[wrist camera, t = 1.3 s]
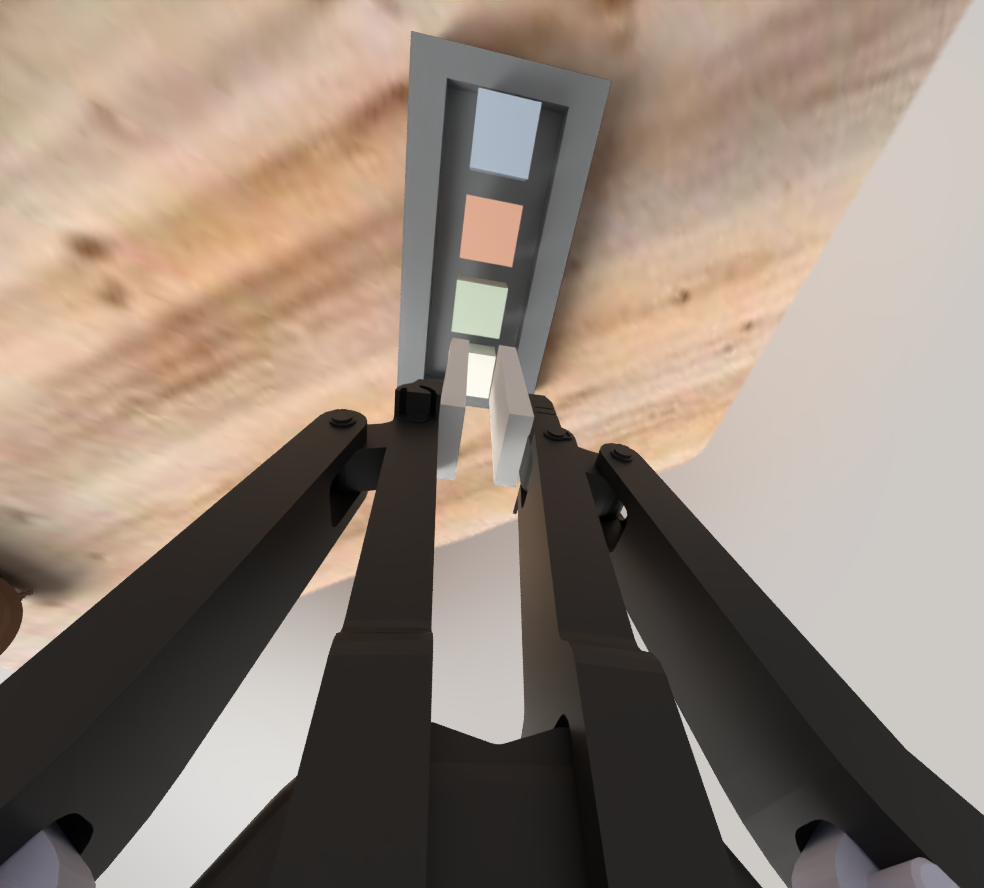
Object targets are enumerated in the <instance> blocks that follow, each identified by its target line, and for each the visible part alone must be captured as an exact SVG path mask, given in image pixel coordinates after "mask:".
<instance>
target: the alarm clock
mask: <svg viewBox="0 0 984 888" xmlns="http://www.w3.org/2000/svg"><path fill="white" fill-rule="evenodd" d="M33 592H34V591H33V590H28V591H27V592H25V593H20V594H18V593H17V592H16V590H15V589H14V588H13V587H12V586H11V585H10V584H9V583H8V582H7V581H5V580H4V579H2V578H0V655H1V654H2V653H3V652H4V651H5V650H6V649H7V647H8V646H9V645H10V644H11V642H12V641H13V640H14V638H15V636H16V634H17V633H18V630H19V628H20V625H21V622H22V616H23V608H22V603H21V601H22V598H21V597H24V596H26V595H31V594H33Z"/></svg>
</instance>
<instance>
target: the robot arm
mask: <svg viewBox="0 0 984 888" xmlns="http://www.w3.org/2000/svg"><path fill="white" fill-rule="evenodd" d="M468 357H469V340H464V339H458V338H452V342H451V348H450V353H449V358H448V363H447V368H446V374H445V379H444V382H438V381H431V380H424V379H418V380H416V381H415V382H413V383H408V384H403V385H401V386H398V387H397V388H396V390H395V411H394V419H393V421H391V422H387V423H382V424H368V425H367V419H366V417H365V416H364V415H362V414H361V413H359V412H356V411H352V410H347V409H341V410H340V409H337V410H333V411H329V412H325V413H324V414H322V415H320V416H319V417H318V418H316V419H315V420H314V421H313V422H312V423H310V424H309V425H308V426H307V427H306V428H304V429H303V430H302V431H301V432H300V433H299V434H297V435H296V436H295V437H294V438H293V439H291V440H290V441H289V442H288V443H287V444H285V445H284V446H283V447H282V448H281V449H280V450H278V451H277V452H276V453H275V454H274V455H272V456H271V457H270V458H269V459H268V460H266V461H265V462H264V463H263V464H262V465H261V466H259V467H258V468H257V469H256V470H255V471H253V472H252V473H251V474H250V475H249V476H247V477H246V478H245V479H244V480H243V481H241V482H240V483H239V484H238V485H237V486H236V487H234V488H233V489H232V490H231V491H230V492H228V493H227V494H226V495H225V496H224V497H222V498H221V499H220V500H219V501H218V502H217V503H215V504H214V505H213V506H212V507H211V508H209V509H208V510H207V511H206V512H205V513H203V514H202V515H201V516H200V517H199V518H198V519H196V520H195V521H194V522H193V523H192V524H190V525H189V526H188V527H187V528H186V529H184V530H183V531H182V532H181V533H180V534H179V535H177V536H176V537H175V538H174V539H173V540H171V541H170V542H169V543H168V544H167V545H165V546H164V547H163V548H162V549H161V550H159V551H158V552H157V553H156V554H155V555H154V556H152V557H151V558H150V559H149V560H148V561H146V562H145V563H144V564H143V565H142V566H140V567H139V568H138V569H137V570H136V571H135V572H133V573H132V574H131V575H130V576H129V577H127V578H126V579H125V580H124V581H123V582H121V583H120V584H119V585H118V586H117V587H116V588H114V589H113V590H112V591H111V592H110V593H108V594H107V595H106V596H105V597H104V598H102V599H101V600H100V601H99V602H98V603H97V604H95V605H94V606H93V607H92V608H91V609H89V610H88V611H87V612H86V613H85V614H83V615H82V616H81V617H80V618H79V619H77V620H76V621H75V622H74V623H73V624H72V625H70V626H69V627H68V628H67V629H66V630H64V631H63V632H62V633H61V634H60V635H58V636H57V637H56V638H55V639H54V640H53V641H51V642H50V643H49V644H48V645H47V646H45V647H44V648H43V649H42V650H41V651H39V652H38V653H37V654H36V655H35V656H34V657H32V658H31V659H30V660H29V661H28V662H26V663H25V664H24V665H23V666H22V667H20V668H19V669H18V670H17V671H16V672H15V673H13V674H12V675H11V676H10V677H9V678H7V679H6V680H5V681H4V682H3V683H2V684H0V888H95V886H96V884H95V881H96V880H97V878H98V877H99V876H100V875H101V874H102V873H103V872H104V871H105V870H106V869H107V868H108V867H109V865H110V864H111V863H112V862H113V861H114V859H115V858H116V857H117V856H118V854H119V853H120V852H121V851H122V850H123V848H124V847H125V846H126V845H127V844H128V842H129V841H130V840H131V839H132V838H133V836H134V835H135V834H136V833H137V831H138V830H139V829H140V828H141V827H142V825H143V824H144V823H145V822H146V821H147V819H148V818H149V817H150V815H151V814H152V812H153V811H154V810H155V808H156V807H157V806H158V804H159V803H160V801H161V800H162V799H163V797H164V796H165V795H166V793H167V792H168V790H169V789H170V788H171V786H172V785H173V784H174V782H175V781H176V779H177V778H178V777H179V775H180V774H181V772H182V771H183V769H184V768H185V766H186V765H187V763H188V762H189V760H190V759H191V757H192V756H193V754H194V753H195V751H196V750H197V748H198V747H199V745H200V744H201V743H202V741H203V739H204V738H205V737H206V735H207V733H208V732H209V730H210V729H211V728H212V726H213V724H214V723H215V722H216V720H217V719H218V717H219V715H220V714H221V713H222V711H223V710H224V708H225V707H226V705H227V704H228V702H229V701H230V699H231V698H232V696H233V694H234V693H235V692H236V690H237V689H238V687H239V686H240V684H241V683H242V681H243V680H244V678H245V677H246V675H247V674H248V672H249V671H250V669H251V668H252V667H253V665H254V664H255V662H256V660H257V659H258V658H259V656H260V654H261V653H262V652H263V650H264V649H265V647H266V646H267V644H268V643H269V641H270V639H271V638H272V637H273V635H274V633H275V632H276V631H277V629H278V628H279V626H280V625H281V623H282V621H283V620H284V619H285V617H286V616H287V614H288V613H289V611H290V610H291V608H292V607H293V605H294V604H295V602H296V601H297V599H298V598H299V596H300V595H301V593H302V592H303V591H304V589H305V588H306V586H307V585H308V583H309V582H310V580H311V579H312V577H313V576H314V574H315V573H316V571H317V570H318V568H319V567H320V565H321V564H322V562H323V561H324V559H325V558H326V556H327V555H328V553H329V552H330V550H331V549H332V547H333V546H334V544H335V543H336V541H337V540H338V538H339V537H340V535H341V534H342V532H343V531H344V529H345V528H346V526H347V525H348V523H349V522H350V520H351V519H352V517H353V516H354V515H355V513H356V512H357V510H358V509H359V507H360V506H361V504H362V503H363V501H364V500H365V498H366V496H367V493H368V491H370V490H376V493H375V497H374V501H373V505H372V509H371V514H370V518H369V522H368V526H367V530H366V534H365V538H364V543H363V547H362V551H361V555H360V559H359V563H358V567H357V571H356V576H355V580H354V584H353V588H352V592H351V596H350V600H349V605H348V609H347V613H346V617H345V621H344V624H343V628H342V630H341V632H339V633H336V636H335V637H334V639H333V642H332V645H331V648H330V652H329V655H328V659H327V663H326V667H325V670H324V675H323V678H322V682H321V686H320V691H319V694H318V697H317V701H316V706H315V709H314V713H313V717H312V721H311V724H310V728H309V732H308V736H307V740H306V744H305V748H304V752H303V755H302V759H301V763H300V767H299V771H298V775H297V776H296V777H295V778H294V779H293V780H292V781H291V782H290V783H288V784H287V785H286V786H285V787H284V788H283V789H282V790H281V791H280V792H279V793H278V794H277V795H276V796H275V797H274V798H273V799H272V800H271V801H270V802H269V803H268V804H267V805H266V806H265V807H264V809H263V810H262V811H261V812H260V813H259V814H258V815H257V816H256V817H255V818H254V819H253V820H252V821H251V823H250V824H249V825H248V826H247V827H246V828H245V829H244V830H243V831H242V832H241V833H240V834H239V836H238V837H237V838H236V839H235V840H234V841H233V842H232V843H231V844H230V845H229V846H228V847H227V849H226V850H225V851H224V852H223V853H222V854H221V855H220V856H219V857H218V858H217V859H216V860H215V861H214V863H213V864H212V865H211V866H210V867H209V868H208V869H207V870H206V871H205V872H204V873H203V874H202V875H201V877H200V878H199V879H198V880H197V881H196V882H195V883H194V884H193V885H192V886H191V887H190V888H762V887H761V886H760V884H759V883H758V882H757V881H756V880H755V879H754V878H753V876H752V875H751V874H750V873H749V871H748V870H747V869H746V868H745V867H744V866H743V864H742V863H741V862H740V861H739V860H738V858H737V857H736V856H735V855H734V854H733V853H732V851H731V850H730V849H729V848H728V847H727V846H726V844H725V843H724V842H723V840H722V837H721V834H720V831H719V829H718V826H717V823H716V820H715V817H714V814H713V811H712V808H711V805H710V802H709V799H708V796H707V793H706V791H705V788H704V785H703V782H702V779H701V776H700V773H699V770H698V767H697V764H696V761H695V758H694V755H693V753H692V750H691V746H690V744H689V741H688V738H687V735H686V732H685V729H684V726H683V723H682V720H681V717H680V714H679V712H678V708H677V705H678V707H679V708H680V710H681V712H682V714H683V716H684V718H685V719H686V721H687V723H688V725H689V727H690V729H691V730H692V732H693V734H694V736H695V738H696V740H697V742H698V743H699V745H700V747H701V749H702V751H703V753H704V755H705V757H706V758H707V760H708V762H709V764H710V766H711V768H712V770H713V771H714V773H715V775H716V777H717V779H718V781H719V783H720V784H721V786H722V788H723V789H724V791H725V793H726V795H727V796H728V798H729V800H730V801H731V803H732V805H733V807H734V808H735V810H736V812H737V814H738V815H739V817H740V819H741V820H742V822H743V824H744V825H745V827H746V828H747V830H748V831H749V833H750V834H751V836H752V837H753V839H754V840H755V842H756V843H757V845H758V846H759V848H760V849H761V851H762V852H763V854H764V855H765V857H766V858H767V860H768V861H769V863H770V864H771V866H772V867H773V868H774V869H775V871H776V872H777V874H778V875H779V876H780V878H781V879H782V880H783V881H784V883H785V884H786V886H787V887H788V888H984V815H983V814H981V813H980V812H979V811H978V810H977V809H975V808H974V807H973V806H972V805H971V804H970V803H968V802H967V801H966V800H965V799H963V797H961V796H960V795H959V794H958V793H957V792H956V791H954V790H953V789H952V788H951V787H950V786H949V785H947V784H946V783H945V782H944V781H943V780H942V779H940V778H939V777H938V776H937V775H936V774H934V773H933V772H932V771H931V770H930V769H929V768H927V767H926V766H925V765H924V764H923V763H922V762H920V761H919V760H918V759H917V758H916V757H914V756H913V755H912V754H911V753H910V752H908V751H907V750H906V749H905V748H904V746H903V745H902V744H901V743H900V742H899V741H898V740H897V739H896V738H895V737H894V735H893V734H892V733H891V732H890V731H889V730H888V729H887V728H886V727H885V726H884V724H883V723H882V722H881V721H880V720H879V719H878V718H877V717H876V715H875V714H874V713H873V712H872V711H871V710H870V709H869V708H868V707H867V706H866V704H865V703H864V702H863V701H862V700H861V699H860V698H859V697H858V696H857V695H856V693H855V692H854V691H853V690H852V689H851V688H850V687H849V686H848V685H847V683H846V682H845V681H844V680H843V679H842V678H841V677H840V676H839V675H838V674H837V672H836V671H835V670H834V669H833V668H832V667H831V666H830V665H829V664H828V662H827V661H826V660H825V659H824V658H823V657H822V656H821V655H820V654H819V653H818V651H816V649H815V648H814V647H813V646H812V645H811V644H810V643H809V641H808V640H807V639H806V638H805V637H804V636H803V635H802V634H801V633H800V632H799V631H798V629H797V628H796V627H795V626H794V625H793V624H792V623H791V622H790V620H789V619H788V618H787V617H786V616H785V615H784V614H783V613H782V612H781V611H780V609H779V608H778V607H777V606H776V605H775V604H774V603H773V602H772V601H771V599H769V597H768V596H767V595H766V594H765V593H764V592H763V591H762V590H761V588H760V587H759V586H758V585H757V584H756V583H755V582H754V581H753V580H752V578H751V577H750V576H749V575H748V574H747V573H746V572H745V571H744V570H743V569H742V567H741V566H740V565H739V564H738V563H737V562H736V561H735V560H734V559H733V557H732V556H731V555H730V554H729V553H728V552H727V551H726V550H725V549H724V548H723V547H722V545H721V544H720V543H719V542H718V541H717V540H716V539H715V538H714V537H713V535H712V534H711V533H710V532H709V531H708V530H707V529H706V528H705V527H704V525H703V524H702V523H701V522H700V521H699V520H698V519H697V518H696V517H695V516H694V514H693V513H692V512H691V511H690V510H689V509H688V508H687V507H686V506H685V505H684V503H683V502H682V501H681V500H680V499H679V498H678V497H677V496H676V495H675V493H674V492H673V491H672V490H671V489H670V488H669V487H668V486H667V485H666V483H664V481H663V480H662V479H661V478H660V477H659V476H658V475H657V474H656V472H655V471H654V470H653V469H652V468H651V467H650V466H649V465H648V464H647V462H646V461H645V460H644V459H643V458H642V457H641V456H640V455H639V454H638V453H637V452H635V451H634V450H632V449H630V448H629V447H627V446H625V445H624V446H623V445H622V444H614V443H609V444H604V445H602V446H601V448H600V451H599V453H595V452H592V451H588V450H585V449H582V448H580V447H578V446H577V442H576V439H575V437H574V436H573V434H572V433H570V432H569V431H568V430H566V429H564V428H561V425H560V423H559V420H558V417H557V416H556V412H555V410H554V407H553V404H552V402H551V401H550V400H549V399H548V398H546V397H545V396H542V395H535V394H528V392H527V388H526V384H525V381H524V377H523V373H522V369H521V366H520V362H519V358H518V354H517V351H516V348H515V347H509V346H502V345H499V348H498V353H497V359H496V364H495V370H494V375H493V381H492V386H491V392H490V397H489V407H490V424H491V441H492V458H493V475H494V485H500V486H509V487H516V486H517V482H518V478H519V475H520V481H521V485H520V488H519V492H518V496H517V500H516V503H515V507H514V511H513V513H514V514H516V513H517V510H518V523H519V524H518V526H519V555H520V587H521V615H522V646H523V674H524V675H523V677H524V708H525V709H524V723H523V729H522V736H521V739H518V740H515V741H512V742H508V743H505V744H493V743H489V742H487V741H483V740H481V739H478V738H475V737H472V736H470V735H467V734H464V733H461V732H459V731H456V730H453V729H450V728H447V727H445V726H442V725H439V724H436V723H433V722H431V698H432V666H433V663H432V662H433V633H432V631H431V620H432V591H433V565H434V537H435V509H436V481H437V478H438V479H447V480H455V475H456V469H457V462H458V455H459V448H460V441H461V435H462V428H463V421H464V414H465V407H466V390H467V374H468ZM623 506H625V508H626V510H627V517H626V518H624V517H623V516H622V514H621V513H620V512H621V510H622V508H623ZM626 610H627V611H626ZM627 612H628V614H629V616H630V618H631V619H632V621H633V623H634V625H635V627H636V629H637V630H638V632H639V634H640V636H641V638H642V640H643V642H644V644H645V645H646V647H647V649H648V651H649V652H645V651H641V650H640V648H639V647H638V646H637V643H636V641H635V639H634V635H633V632H632V629H631V625H630V621H629V618H628V615H627ZM674 699H675V700H674ZM675 701H676V703H677V705H676V703H675Z"/></svg>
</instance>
